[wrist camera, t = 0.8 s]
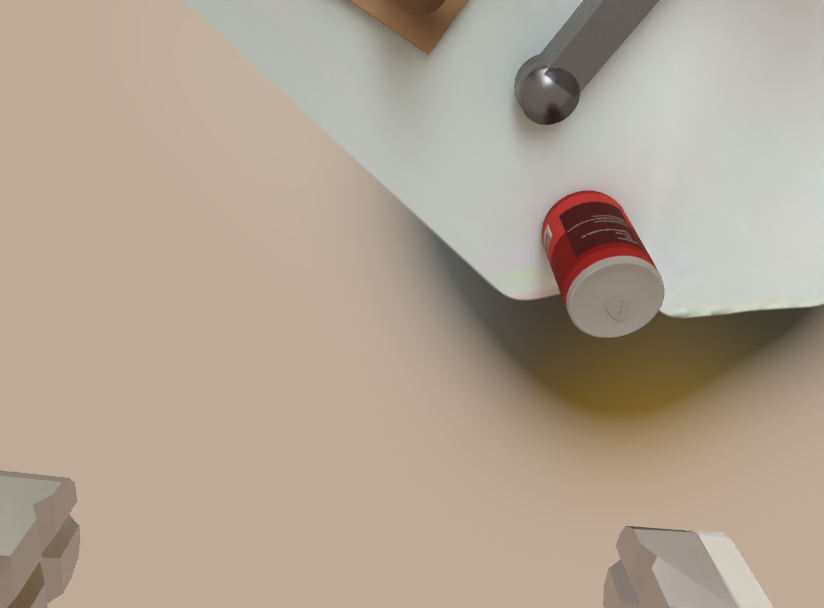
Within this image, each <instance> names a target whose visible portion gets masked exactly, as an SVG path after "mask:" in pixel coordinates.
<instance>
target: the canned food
mask: <svg viewBox="0 0 824 608" xmlns="http://www.w3.org/2000/svg"><path fill="white" fill-rule="evenodd" d="M542 242H543V245H544V248H545V251H546V254H547V256H548V259H549V262H550V265H551V268H552V270H553V273H554V276H555V279H556V282H557V284H558V287H559V290H560V293H561V295H562V298H563V301H564V304H565V307H566V309H567V311H568V314H569V316H570V318H571V320H572V321H573V323H574V324H575V325H576V326H577V327H578V328H579V329H580V330H581V331H583V332H585V333H586V334H589V335H592V336H595V337H601V338H613V337H620V336H623V335H626V334H630V333H632V332H634V331H636V330H638V329H640V328H641V327H643V326H644V325H646V324H647V323H648V322H649V321H650V320H651V319H652V318H653V317H654V316H655V315H656V314H657V312H658V311H659V309H660V307H661V305H662V302H663V299H664V285H663V281H662V279H661V276H660V274H659V272H658V270H657V268H656V266H655V265H654V263H653V261H652V259H651V257H650V256H649V254H648V252H647V250H646V249H645V247H644V245H643V243H642V242H641V240H640V238H639V237H638V235H637V233H636V231H635V230H634V228H633V226H632V224H631V223H630V221H629V219H628V217H627V216H626V214H625V212H624V210H623V209H622V207H621V206H620V205H619V204H618V203H617V202H616V201H615V200H613V199H612V198H611V197H609V196H607V195H605V194H603V193H600V192H595V191H581V192H576V193H573V194H570V195H568V196H566V197H564V198H562V199H561V200H560V201H558V202H557V203H556V204H555V205H554V206H553V207H552V208H551V209H550V211H549V212H548V214H547V216H546V218H545V221H544V224H543V231H542Z"/></svg>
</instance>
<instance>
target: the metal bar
mask: <svg viewBox="0 0 824 608" xmlns="http://www.w3.org/2000/svg"><path fill="white" fill-rule="evenodd" d="M658 1H659V0H583V2H582V3H581V4H580V5H579V7H578V8H577V9H576V10H575V12H574V13H573V14H572V15H571V17H570V18H569V19H568V20H567V22H566V23H565V24H564V25H563V27H562V28H561V29H560V30H559V32H558V33H557V34H556V35H555V37H554V38H553V39H552V40H551V42H550V43H549V44H548V45H547V47H546V48H545V49H544V50H543V52H542V53H541V54H540V55H537V56H534V57H532V58H531V59H529V60H528V61H526V62H525V63H524V64H523V65H522V66H521V68H520V69H519V71H518V73H517V75H516V78H515V92H516V95H517V97H518V99H519V102H520V104H521V106H522V108H523V111H524V113H525V114H526V116H527V117H528V118H529V119H531V120H532V121H534V122H536V123H539V124H544V125H549V124H554V123H557V122H560V121H562V120H564V119H565V118H566V117H568V116H569V115H570V114H571V113H572V112H573V110H574V109H575V107H576V106H577V103H578V101H579V96H580V92H581V90H582V89H583V88H584V87H585V86H586V85H587V83H588V82H589V81H590V80H591V79H592V78H593V76H594V75H595V74H596V73H597V72H598V71H599V69H600V68H601V67H602V66H603V65H604V64H605V62H606V61H607V60H608V59H609V58H610V57H611V56H612V54H613V53H614V52H615V51H616V50H617V49H618V47H619V46H620V45H621V44H622V43H623V42H624V40H625V39H626V38H627V37H628V36H629V35H630V33H631V32H632V31H633V30H634V29H635V28H636V26H637V25H638V24H639V23H640V22H641V21H642V19H643V18H644V17H645V16H646V15H647V14H648V12H649V11H650V10H651V9H652V8H653V7H654V6H655V4H656V3H657V2H658Z"/></svg>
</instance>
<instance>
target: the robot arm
mask: <svg viewBox="0 0 824 608" xmlns="http://www.w3.org/2000/svg"><path fill="white" fill-rule="evenodd" d="M76 502H77V496H76V489H75V482H73V481H72V480H71V479H70V478H64V477H55V476H46V475H36V474H28V473H18V472H8V471H0V608H47V603H49V602H50V601H52V600H53V599H55V598H56V597H58V596H60V595H61V594H62V593H63V592H64V591H65V589H66V587H67V585H68V583H69V581H70V579H71V577H72V575H73V571H74V568H75V565H76V562H77V559H78V554H79V545H80V530H79V525H78V524H77V523H76V522H75V521H74V519H73V518H72V517H71V516H70V515H69V513H70V512H71V510H72V508H73V507H74V505H75V503H76ZM616 548H617V550H618V553H619V555H620V558H621V559H620V560H619V561H618V562H616V563H615V564H614V565H613V566H611V567H610V568H609V569H608V573H607V577H606V580H605V584H604V602H603V605H604V608H774V607H773V606H772V604H771V602H770V601H769V599H768V598H767V596H766V595H765V593H764V591H763V590H762V588H761V587H760V585H759V583H758V582H757V580H756V579H755V577H754V576H753V574H752V572H751V571H750V569H749V567H748V566H747V564H746V563H745V561H744V560H743V558H742V557H741V555H740V553H739V552H738V550H737V548H736V547H735V545H734V544H733V542H732V541H731V539H730V538H729V537H728V536H727V535H725V534H724V533H723V532H711V531H695V530H690V531H684V530H671V529H659V528H658V529H657V528H647V527H633V526H625V527H624V529H623V530H622V531H621V533H620V535H619V538H618V541H617V544H616Z"/></svg>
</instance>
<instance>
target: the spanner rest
mask: <svg viewBox="0 0 824 608" xmlns="http://www.w3.org/2000/svg"><path fill="white" fill-rule="evenodd" d="M350 1H352V2H353V3H355V4H356V5H357V6H359V7H360V8H362V9H363V10H365V11H366V12H368V13H369V14H370V15H372V16H373V17H375V18H376V19H378V20H379V21H380V22H382V23H383V24H385V25H386V26H388V27H389V28H390V29H392V30H393V31H395V32H396V33H398V34H399V35H401V36H402V37H403V38H405V39H406V40H408V41H409V42H411V43H412V44H413V45H415V46H416V47H418V48H419V49H421V50H422V51H424V52H425V53H426V54H428V55H429V54H430V52H431V51H432V49H433V48H434V47H435V45H436V44H437V42H438V41H439V39H440V38H441V37H442V35H443V34H444V32H445V31H446V30H447V28H448V27H449V25H450V24H451V22H452V21H453V20H454V18H455V17H456V15H457V14H458V13H459V11H460V10H461V8H462V7H463V5H464V4H465V3H466V1H467V0H350Z"/></svg>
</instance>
